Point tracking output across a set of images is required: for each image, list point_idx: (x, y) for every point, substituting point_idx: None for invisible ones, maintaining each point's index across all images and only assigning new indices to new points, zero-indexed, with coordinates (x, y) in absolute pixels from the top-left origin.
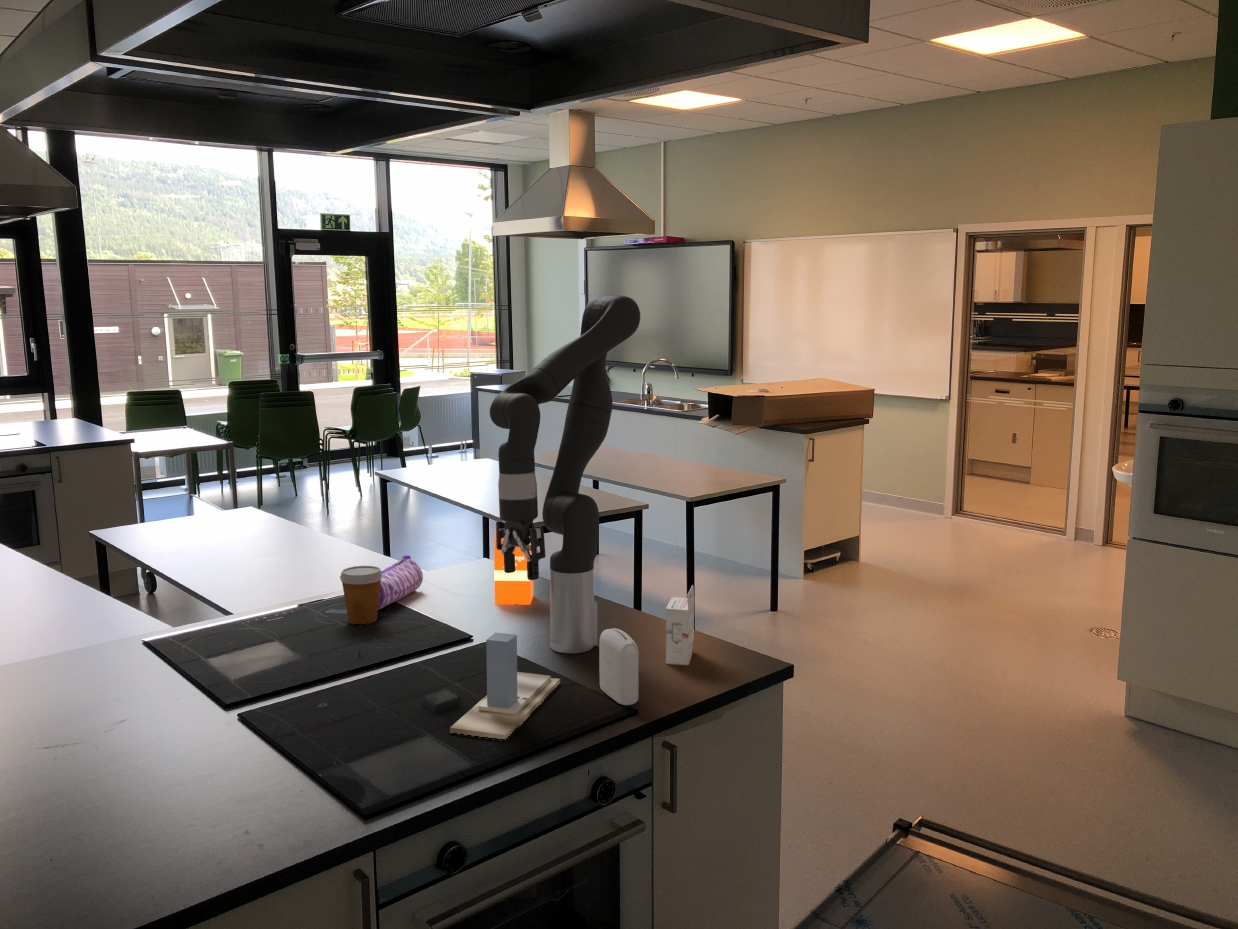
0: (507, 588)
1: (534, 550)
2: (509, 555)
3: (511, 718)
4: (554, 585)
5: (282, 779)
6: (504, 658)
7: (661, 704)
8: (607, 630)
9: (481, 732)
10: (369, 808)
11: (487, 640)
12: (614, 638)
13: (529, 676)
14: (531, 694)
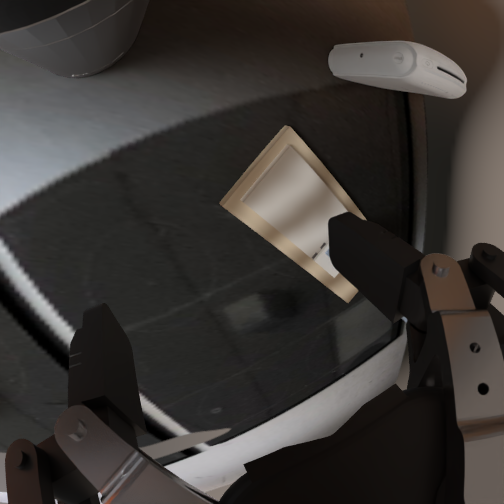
0: None
1: (501, 327)
2: (130, 415)
3: None
4: (75, 34)
5: (334, 389)
6: None
7: None
8: (433, 76)
9: None
10: (392, 336)
11: (406, 320)
12: (453, 92)
13: (275, 184)
14: (340, 203)
